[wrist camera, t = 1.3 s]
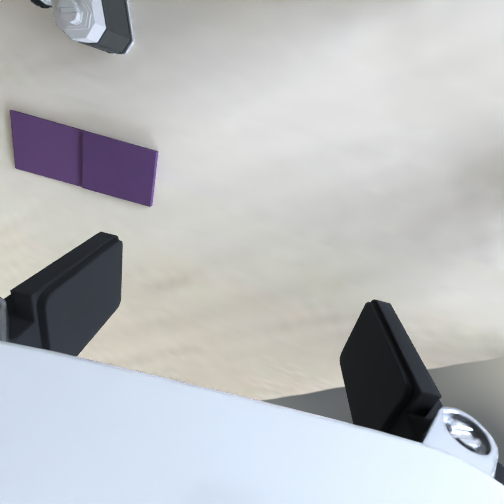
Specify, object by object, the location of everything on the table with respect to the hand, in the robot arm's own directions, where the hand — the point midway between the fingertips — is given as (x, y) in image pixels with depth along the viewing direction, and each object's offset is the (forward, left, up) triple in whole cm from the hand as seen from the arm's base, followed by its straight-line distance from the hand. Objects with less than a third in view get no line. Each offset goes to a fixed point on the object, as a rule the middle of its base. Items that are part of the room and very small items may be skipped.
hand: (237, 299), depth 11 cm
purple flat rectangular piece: (+5, -23, -27) cm, 35 cm away
